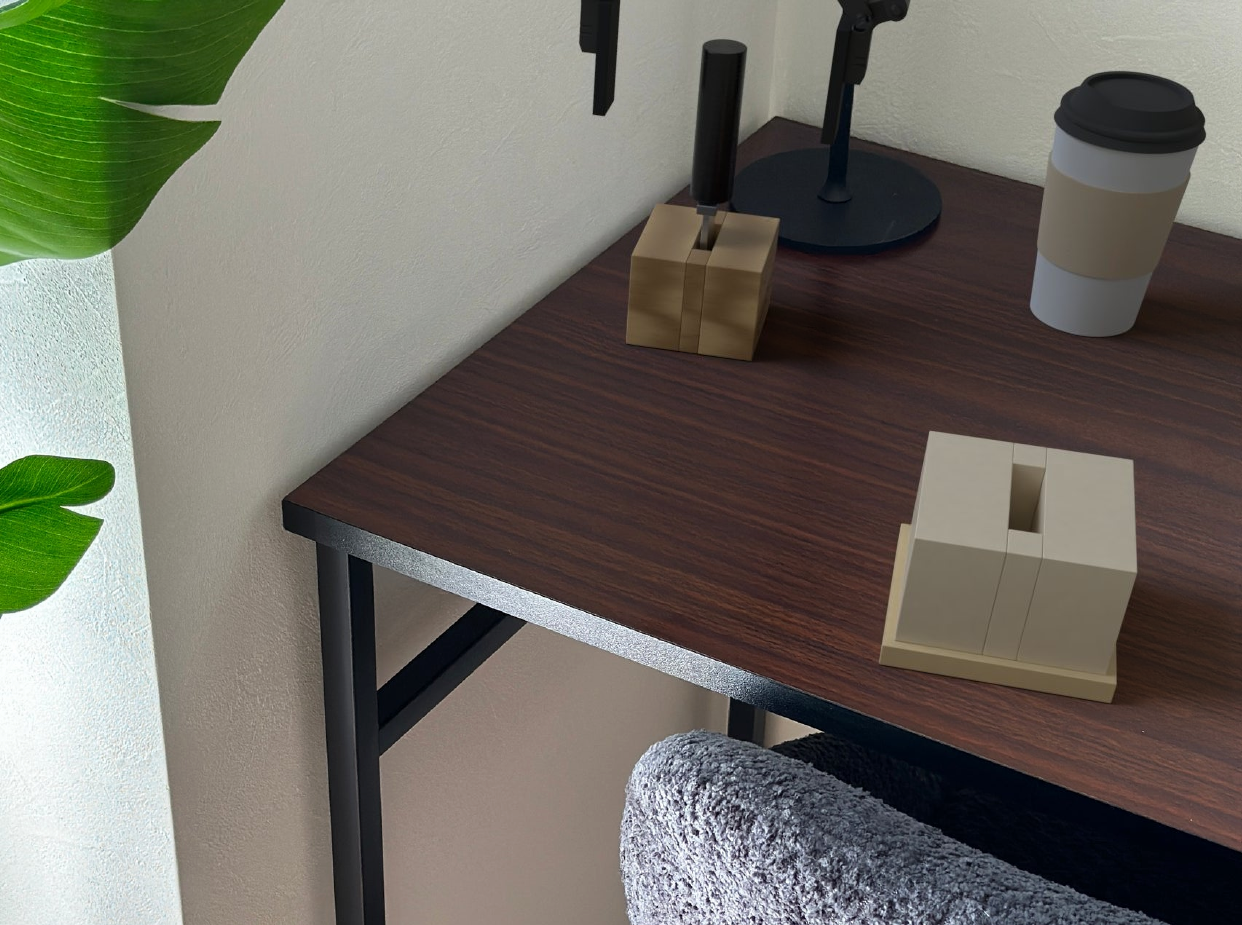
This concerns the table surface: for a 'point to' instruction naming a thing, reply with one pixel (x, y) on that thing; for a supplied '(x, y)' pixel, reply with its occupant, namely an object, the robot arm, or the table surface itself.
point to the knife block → (701, 283)
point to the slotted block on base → (1014, 567)
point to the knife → (717, 129)
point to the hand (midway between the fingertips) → (715, 122)
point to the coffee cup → (1111, 198)
